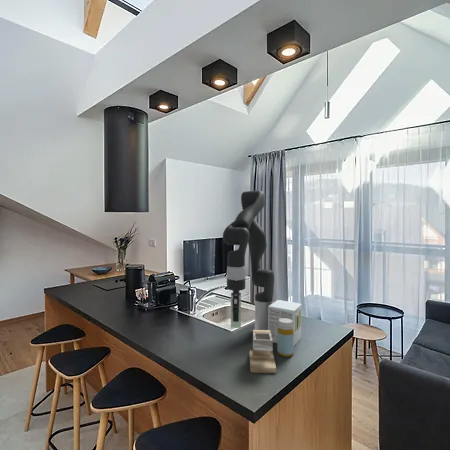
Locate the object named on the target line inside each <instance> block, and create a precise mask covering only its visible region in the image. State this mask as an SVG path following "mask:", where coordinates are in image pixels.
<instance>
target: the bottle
mask: <svg viewBox="0 0 450 450" xmlns="http://www.w3.org/2000/svg"><path fill="white" fill-rule="evenodd" d="M294 347H295V346H294V331H293V320H291V319H289V318H280V319H279V328H278V343H277V348H276V349H277V354H278V355H279V356H281V357H285V358H289V357H292V356H293V355H294Z"/></svg>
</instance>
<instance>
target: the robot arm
mask: <svg viewBox="0 0 450 450" xmlns="http://www.w3.org/2000/svg"><path fill="white" fill-rule="evenodd" d="M265 196H266V195H265V193H264V191H262V190H249V191H243V192H241V196H240V203H241V209H242V211H240V212H239V213H238V214H237V216H236V217H235V219H234V221H233V222H231V223H230V224H229V225H227V227H225V229H224V231H223V232H222V241H223V242H224V243H225V244H226V245H229V246H238V248H237V249H235V250H230V251H228V253H227V257H226V258H227V266H226V289H228V291H231V293H230V300H231V299H232V306H233V310H232V311H233V321H234V322H238V321H239V306H240V299H241V300H242V292H241V291H243V290H244V291H245V289H246V252H247V248H248V251H249V256H250V257H249V258H250V267H251V268H250V269H251V270H250V271H251V272H250V273H251V281H252V284H253V286H255V287H260V288H264V291H261V292H257V293H256V294H255V296H254V330H268V306H270V305H271V304H273V303H274V301H273V300H274V299H273V297H274V292H275V291H274V289H275V288H274V287H275V274H274V272H273V271H272V270H271V269H270V270H269V269H263V268H261V260H262V258H263V255H264V253H266V252H265V251H266V249H267V246H268V245H267V237H266V233H265V231H264V229H263V228H262V227H261V225H260V224H259V223H258V222H257V221H256V217H257V216H258V215H259V214H260V212H261V211H262V210H263V209H264V207H265V203H266V197H265ZM234 308H238V309H234Z"/></svg>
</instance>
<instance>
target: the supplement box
mask: <svg viewBox="0 0 450 450" xmlns="http://www.w3.org/2000/svg"><path fill="white" fill-rule="evenodd" d="M302 309H303V307H302V303H299V302H294V301H287V300H281V299H277V300H276V301H273V304H271V305H270V306H268V330H270V332H271V336H272V340H273V344H274V343H275V344H278V328H279V319H280V318H289V319H291V320H293V331H294V347H295V346H296V345H297V343H298V342H299V341H300V340H301V339H302V317H303V316H302Z"/></svg>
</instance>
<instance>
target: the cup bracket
mask: <svg viewBox="0 0 450 450" xmlns="http://www.w3.org/2000/svg"><path fill="white" fill-rule="evenodd" d="M273 344H274V342H273V340H272V336H271V332H270V330H255V329H252V350H249V366H250V367H249V369H250V371H249V372H250V373H258V374H259V373H262V374H277V366H276V360H275V355H274V353H273V352H274V350H273V347H274V345H273Z"/></svg>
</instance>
